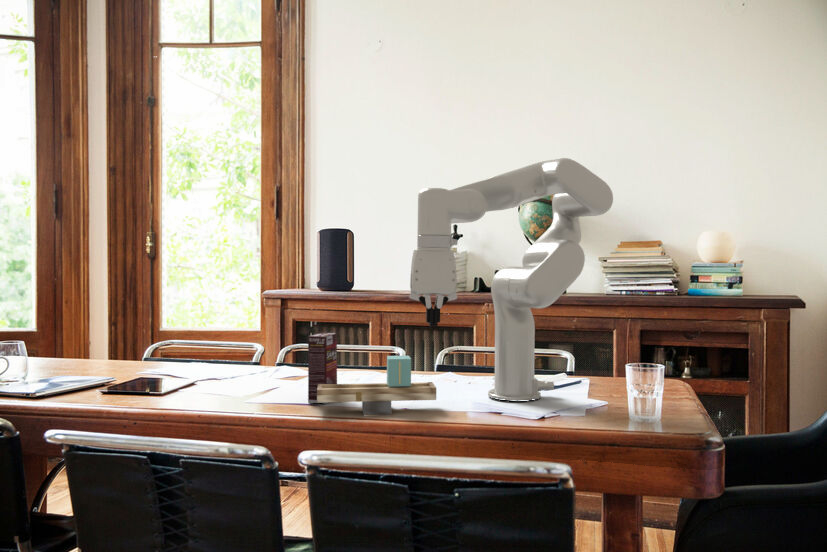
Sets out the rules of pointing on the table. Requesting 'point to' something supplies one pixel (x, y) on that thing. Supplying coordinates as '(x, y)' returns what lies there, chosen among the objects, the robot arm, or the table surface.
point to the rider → (398, 371)
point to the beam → (375, 395)
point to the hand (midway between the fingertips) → (432, 325)
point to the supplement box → (321, 362)
